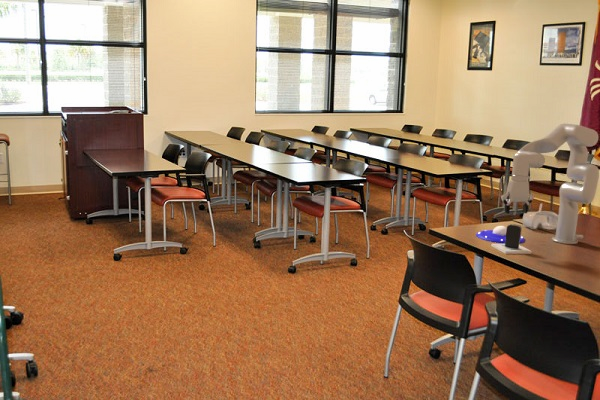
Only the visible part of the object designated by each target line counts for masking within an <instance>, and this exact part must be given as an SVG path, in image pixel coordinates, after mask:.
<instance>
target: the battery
mask: <svg viewBox="0 0 600 400" xmlns="http://www.w3.org/2000/svg"><path fill="white" fill-rule="evenodd" d="M506 228H507V229H506V240H505V246H506V247H511V248H519V245H520V244H521V243H520V237H521V236H522V230H523V228H522V226H521V225H519V224H514V223H509V224H508V225H507V226H506ZM519 243H520V244H519Z"/></svg>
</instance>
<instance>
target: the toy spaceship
mask: <svg viewBox="0 0 600 400" xmlns="http://www.w3.org/2000/svg"><path fill="white" fill-rule="evenodd" d="M506 229H507V226H505V225H497V226H495V227H494V228H493V229H487V230H486V229H485V230H481V231H478V232H476V234H475V237H476V238H478V239H481V240H483V241H487V242H490V241H491V242H490V243H495V242H496V243H495V244H502V243H503V244H505V240H506ZM525 242H526V239H525V238H524V237H523V236H522V235H521V237H520V244H523V243H525Z"/></svg>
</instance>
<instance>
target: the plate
mask: <svg viewBox="0 0 600 400" xmlns="http://www.w3.org/2000/svg"><path fill="white" fill-rule="evenodd" d="M490 247H492V248H494V249H495V250H498V251H500V252H501V253H502V254H505V255H507V254H510V255H511V254H512V255H516V254H517V255H519V254H521V255H522V254H523V255H525V254H526V255H527V254H530V255H531V254H532V250H530V249H528V248H526V247H525V246H523V245H520V244H519V248H511V247H506V246H505V244H502V243H491V245H490Z"/></svg>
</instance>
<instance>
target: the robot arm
mask: <svg viewBox="0 0 600 400" xmlns="http://www.w3.org/2000/svg"><path fill="white" fill-rule="evenodd" d="M598 141H599V133H598V132H597V131H596V130H594V129H592V128H590V127H586V126H583V125H579V124H573V123H561V124H560V123H559V124H558V125H557V126H556V127H555V128H554V129H552V130H551V131H550V132H549V133H548V134H547V135H546V136H544V137H542V138H539V139H537V140H533V141H531V142H528V143H527V144H524V145H523V146H522V147H521V148H519V150H518V151H517V152H515V153H514V154H513V161H512V172H511V180H509V182H508V184H507V186H506V187H507V188H506V193H504V194H502V195H500V198H501V201H502V203H503V204H504V214H505V213H506V214H510V210H511V208H510V207H511V206H510V205H511V204H512V203H513V202H514V203H523V205H522V212H523V214H524V213H527V212H529V206H530V204H532V202H533V201H534V199H535V196H534V195H532V194H531V193H530V182H529V180H530V179H531V176H530V175H529V173H530V171H529V170H530V169H532V168H533V169H539V168H541V167H543V166H544V164H545V162H546V159H545V156H544V155H543V154H548V153H553V152H556V151H558V149H559V148H560V147H562V145H564V144H565V143H567V145H568V147H569V150H570V151H569V152H570V153H569V154H570V155H569V159H568V164H567V168H566V177H567V178H568V180H573V181H576V182H570V181H569V182H568V181H567V182H564V183H562V184H561V185H560V187H559V191H558V192H559V193H558V194H559V207H558V214H557V215H558V221H557V229H555V230H556V231H555V236H552V238H551V240H552V241H553V242H555V243H559V244H564V245H577V244H578V239H579V240H580V239H583V238H584V235H583V234H577V233H576V231H577V225H578V218H579V210H580V209H579V205H578V203H579V204H582V205H583V204H584V205H589V204H591V203H592V202H593V201H594V199H595V195H596V192H597V187H598V183H599V178H600V169H599V168H598V166H596V165H594V164H591V163H587V162H588V157H589V152H588V148H587V147H593V146H595V145H597V143H598ZM577 182H581V183H577ZM582 183H583V184H582Z"/></svg>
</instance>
